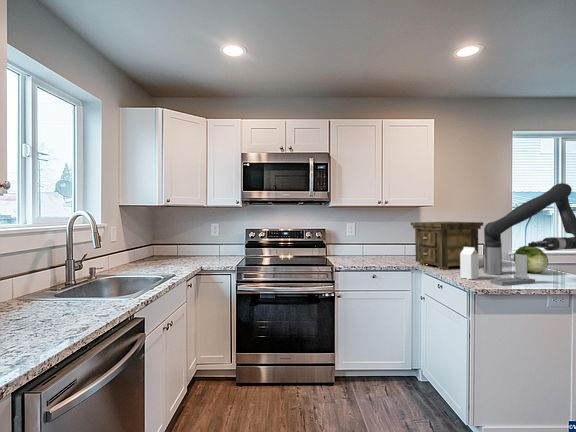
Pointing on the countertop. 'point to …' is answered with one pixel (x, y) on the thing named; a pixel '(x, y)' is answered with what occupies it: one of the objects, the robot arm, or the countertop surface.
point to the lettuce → (533, 258)
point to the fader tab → (521, 266)
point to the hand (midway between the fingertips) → (529, 245)
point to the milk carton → (469, 263)
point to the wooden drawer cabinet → (444, 241)
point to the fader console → (511, 281)
